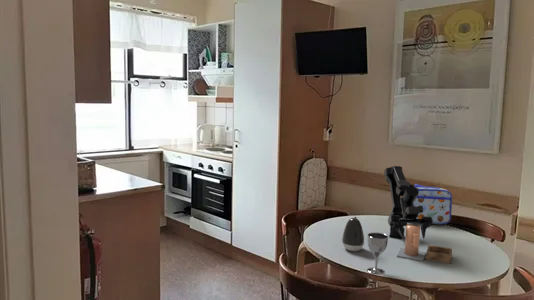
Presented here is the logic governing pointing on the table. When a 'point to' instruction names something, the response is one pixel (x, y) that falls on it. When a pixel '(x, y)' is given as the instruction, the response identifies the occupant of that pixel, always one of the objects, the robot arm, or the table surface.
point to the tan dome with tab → (412, 239)
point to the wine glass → (377, 249)
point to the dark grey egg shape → (353, 235)
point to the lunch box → (434, 203)
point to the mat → (418, 258)
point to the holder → (439, 254)
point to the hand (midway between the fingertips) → (413, 237)
